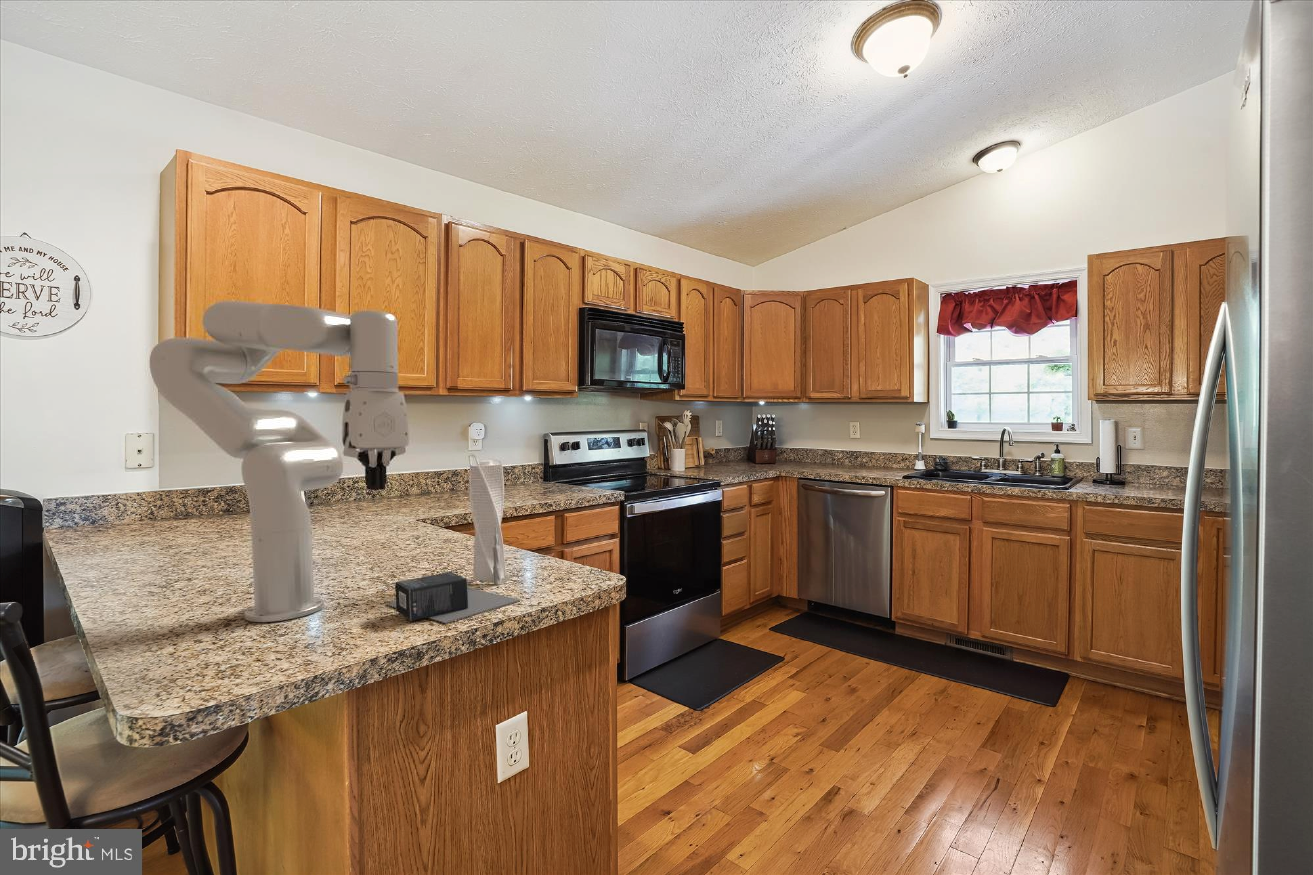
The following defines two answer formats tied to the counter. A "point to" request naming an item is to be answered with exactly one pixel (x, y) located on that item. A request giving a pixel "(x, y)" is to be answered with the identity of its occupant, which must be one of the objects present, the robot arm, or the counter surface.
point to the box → (431, 595)
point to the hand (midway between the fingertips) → (376, 489)
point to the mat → (474, 605)
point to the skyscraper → (487, 520)
